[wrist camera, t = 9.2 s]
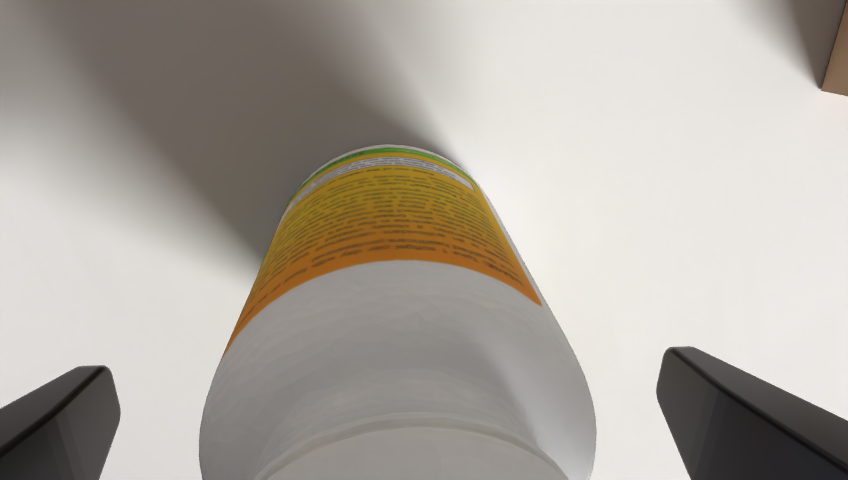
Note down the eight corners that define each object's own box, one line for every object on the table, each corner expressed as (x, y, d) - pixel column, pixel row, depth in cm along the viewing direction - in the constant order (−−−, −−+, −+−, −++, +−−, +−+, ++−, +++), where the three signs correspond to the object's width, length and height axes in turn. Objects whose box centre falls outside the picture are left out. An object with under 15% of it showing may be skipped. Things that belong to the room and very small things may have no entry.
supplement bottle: (232, 219, 13) (-65, 671, 4) (424, 93, 12) (544, 330, 4) (363, 372, 15) (344, 894, 6) (535, 272, 14) (790, 711, 6)
